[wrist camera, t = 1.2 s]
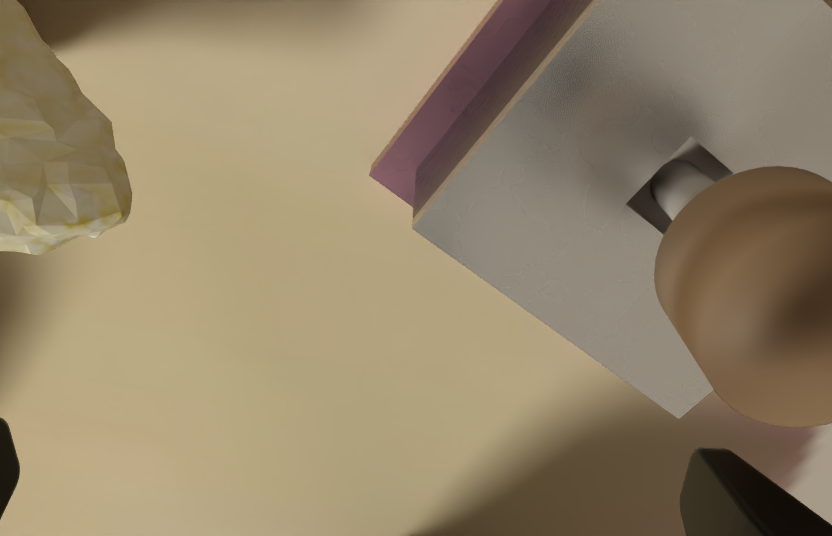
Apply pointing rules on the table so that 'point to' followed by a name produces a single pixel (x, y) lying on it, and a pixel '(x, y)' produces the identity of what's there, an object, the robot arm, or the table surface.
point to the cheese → (51, 148)
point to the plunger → (748, 280)
